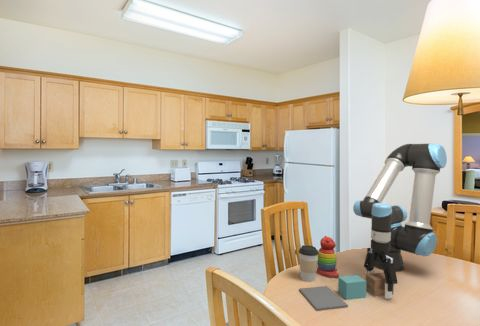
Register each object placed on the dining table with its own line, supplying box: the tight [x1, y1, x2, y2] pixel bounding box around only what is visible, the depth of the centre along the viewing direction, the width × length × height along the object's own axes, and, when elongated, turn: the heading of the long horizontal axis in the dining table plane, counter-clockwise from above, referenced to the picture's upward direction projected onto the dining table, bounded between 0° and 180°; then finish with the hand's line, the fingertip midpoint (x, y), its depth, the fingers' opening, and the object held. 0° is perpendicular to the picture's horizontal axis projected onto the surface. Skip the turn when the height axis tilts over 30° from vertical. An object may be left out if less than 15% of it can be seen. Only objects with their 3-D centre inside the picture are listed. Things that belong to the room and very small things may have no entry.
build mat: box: [298, 285, 349, 312], centre depth 117 cm, size 13×16×1 cm
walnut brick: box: [364, 271, 395, 298], centre depth 122 cm, size 9×6×7 cm, turn 102°
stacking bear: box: [316, 235, 340, 279], centre depth 141 cm, size 11×10×18 cm
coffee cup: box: [298, 245, 319, 283], centre depth 135 cm, size 9×9×15 cm
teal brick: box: [337, 274, 367, 301], centre depth 120 cm, size 9×6×7 cm, turn 102°
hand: (378, 291), depth 122 cm, fingers open, 10 cm apart
